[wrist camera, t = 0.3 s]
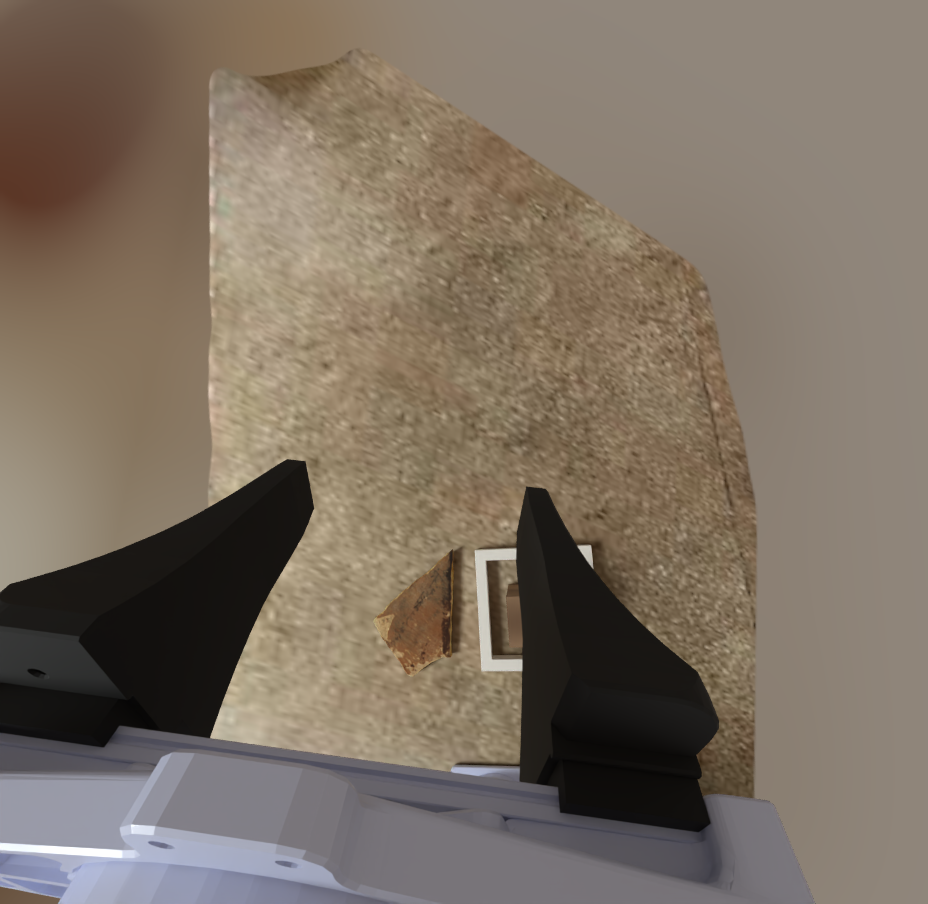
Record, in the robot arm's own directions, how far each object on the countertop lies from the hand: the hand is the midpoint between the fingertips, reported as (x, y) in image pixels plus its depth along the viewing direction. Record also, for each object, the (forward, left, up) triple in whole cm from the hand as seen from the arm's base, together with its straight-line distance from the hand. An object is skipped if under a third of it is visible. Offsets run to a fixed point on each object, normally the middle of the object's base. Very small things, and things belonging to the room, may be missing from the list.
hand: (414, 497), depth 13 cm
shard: (-10, +8, -29) cm, 32 cm away
